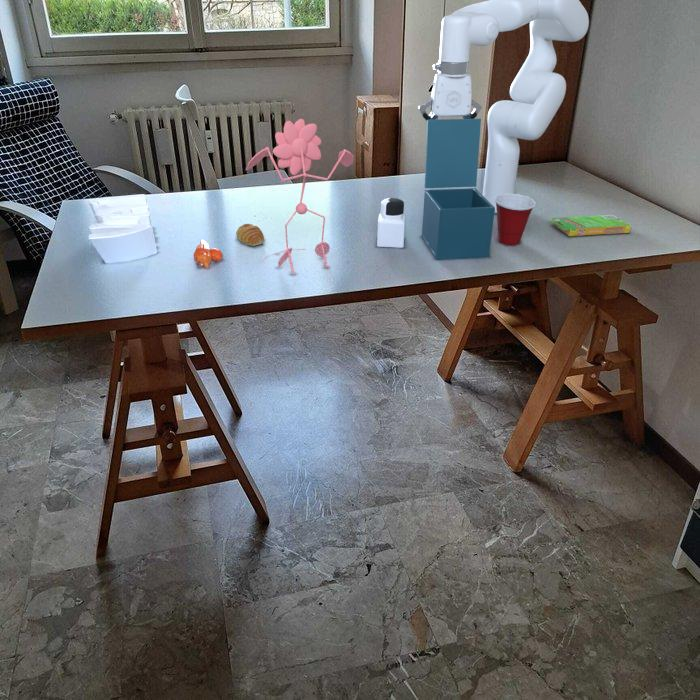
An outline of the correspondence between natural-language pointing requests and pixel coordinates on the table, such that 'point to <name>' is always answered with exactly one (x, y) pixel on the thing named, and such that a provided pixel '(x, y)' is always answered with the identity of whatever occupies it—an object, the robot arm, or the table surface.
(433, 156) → the cool box lid
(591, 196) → the table surface
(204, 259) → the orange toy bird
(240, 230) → the pastry
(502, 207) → the plastic cup
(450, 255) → the cool box
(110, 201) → the wavy white extrusion
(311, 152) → the figurine
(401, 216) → the medicine bottle
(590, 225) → the game box
